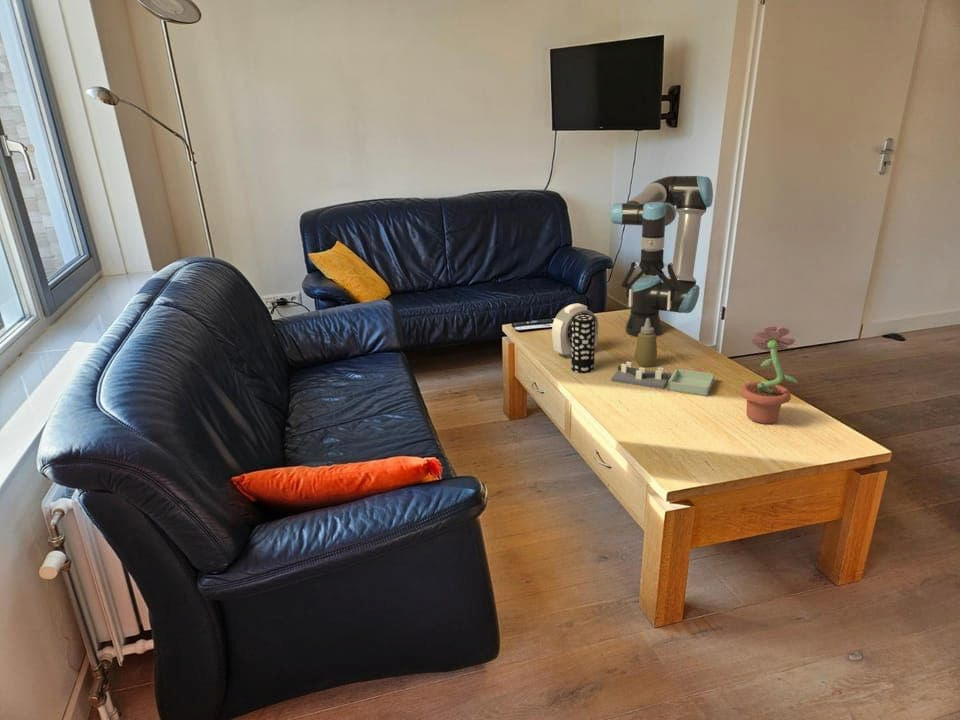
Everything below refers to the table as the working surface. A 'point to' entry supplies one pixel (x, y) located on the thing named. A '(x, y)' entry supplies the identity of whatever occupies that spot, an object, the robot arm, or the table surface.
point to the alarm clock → (568, 328)
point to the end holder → (691, 382)
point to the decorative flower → (768, 394)
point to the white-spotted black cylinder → (583, 343)
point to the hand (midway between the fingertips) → (649, 307)
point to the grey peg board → (641, 376)
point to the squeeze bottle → (646, 346)
